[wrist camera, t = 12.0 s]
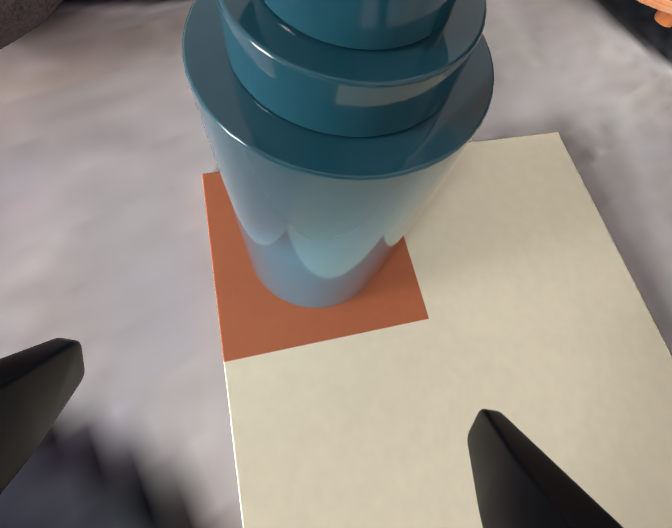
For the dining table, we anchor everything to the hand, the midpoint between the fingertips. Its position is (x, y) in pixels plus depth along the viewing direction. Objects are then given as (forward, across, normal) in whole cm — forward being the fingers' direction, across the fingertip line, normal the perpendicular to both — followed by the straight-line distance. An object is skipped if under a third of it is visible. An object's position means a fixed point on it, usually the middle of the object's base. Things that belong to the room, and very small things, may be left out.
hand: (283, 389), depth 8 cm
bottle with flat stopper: (+9, 0, 0) cm, 9 cm away
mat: (+7, -7, +3) cm, 10 cm away
